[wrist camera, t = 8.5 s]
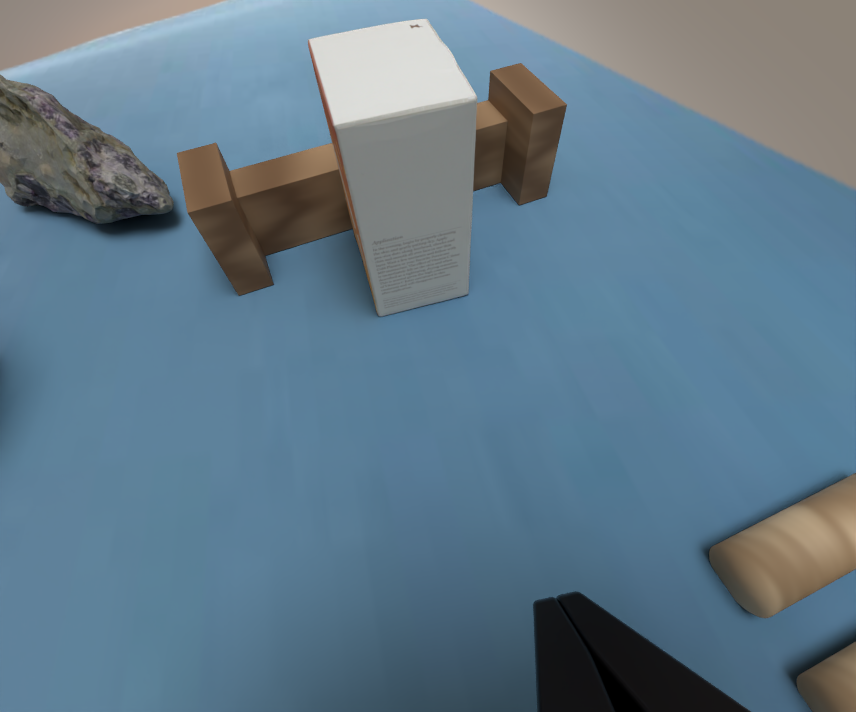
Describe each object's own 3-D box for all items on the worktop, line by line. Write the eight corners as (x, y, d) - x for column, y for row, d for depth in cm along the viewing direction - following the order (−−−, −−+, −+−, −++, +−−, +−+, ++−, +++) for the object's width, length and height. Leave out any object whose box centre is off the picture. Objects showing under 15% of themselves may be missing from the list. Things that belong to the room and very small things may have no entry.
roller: (702, 563, 21) (759, 628, 19) (719, 532, 19) (785, 601, 17) (848, 488, 23) (917, 540, 20) (877, 452, 21) (957, 505, 18)
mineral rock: (192, 229, 34) (106, 94, 26) (43, 291, 31) (-109, 163, 23) (148, 148, 40) (67, 17, 32) (20, 194, 37) (-107, 64, 29)
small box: (353, 236, 33) (304, 35, 22) (435, 217, 34) (428, 13, 23) (376, 320, 29) (331, 124, 18) (470, 297, 29) (482, 94, 18)
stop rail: (239, 295, 30) (187, 212, 24) (225, 239, 33) (176, 153, 27) (546, 196, 34) (567, 104, 28) (509, 153, 37) (520, 63, 31)
